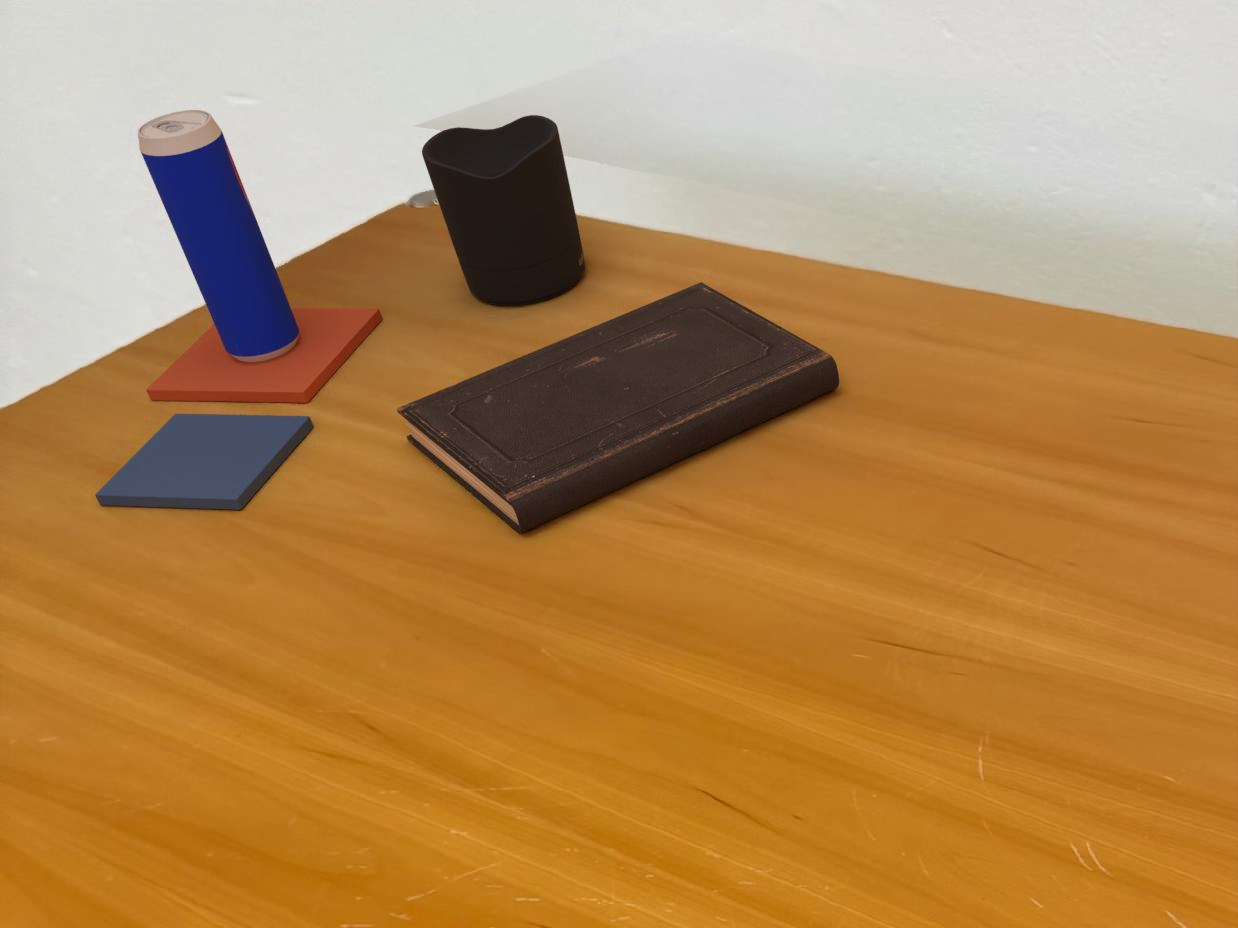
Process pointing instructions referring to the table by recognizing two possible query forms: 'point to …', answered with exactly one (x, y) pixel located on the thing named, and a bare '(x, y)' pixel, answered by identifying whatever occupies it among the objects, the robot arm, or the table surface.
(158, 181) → the beverage can
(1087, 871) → the table surface
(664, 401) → the hardcover book
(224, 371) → the terracotta mat
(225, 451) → the blue mat
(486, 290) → the pen holder
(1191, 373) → the table surface
